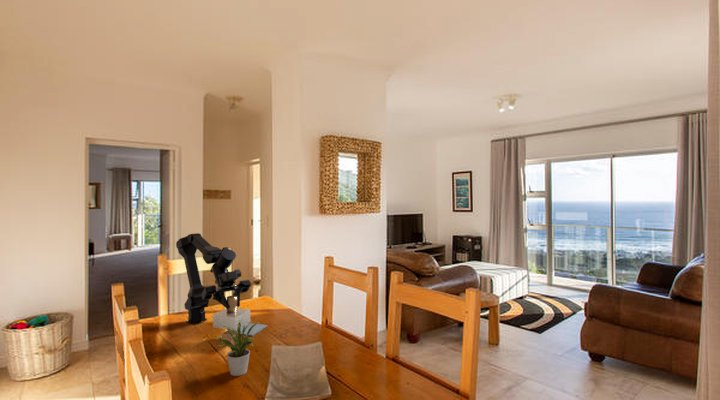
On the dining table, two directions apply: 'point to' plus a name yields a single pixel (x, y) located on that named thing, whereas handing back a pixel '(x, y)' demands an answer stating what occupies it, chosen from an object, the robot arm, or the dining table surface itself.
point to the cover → (231, 315)
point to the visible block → (228, 337)
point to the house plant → (238, 349)
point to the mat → (254, 331)
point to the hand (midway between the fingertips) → (233, 307)
